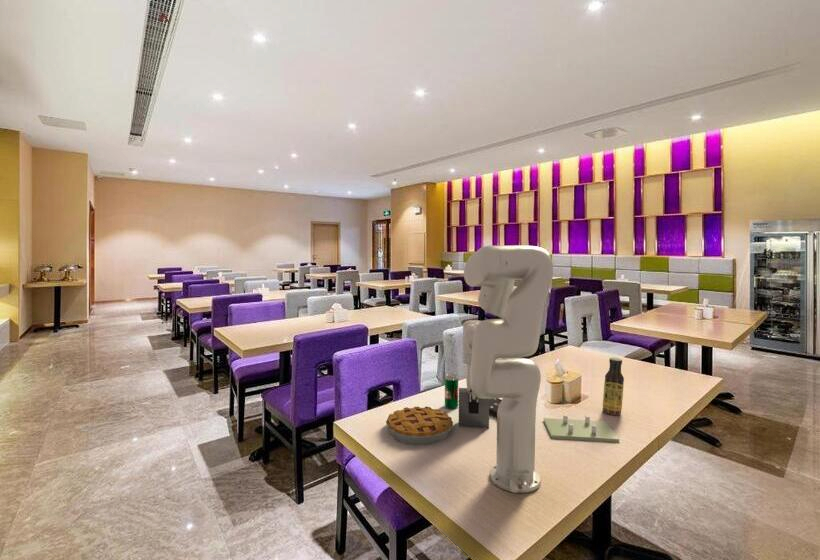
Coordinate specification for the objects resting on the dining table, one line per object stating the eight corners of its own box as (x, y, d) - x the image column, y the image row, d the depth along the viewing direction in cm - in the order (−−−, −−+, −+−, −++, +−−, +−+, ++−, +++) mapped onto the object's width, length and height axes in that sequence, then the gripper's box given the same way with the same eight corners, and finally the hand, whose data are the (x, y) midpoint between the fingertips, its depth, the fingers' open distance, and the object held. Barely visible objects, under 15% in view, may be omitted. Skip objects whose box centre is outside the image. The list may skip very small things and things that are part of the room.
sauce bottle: (602, 414, 144) (603, 359, 143) (602, 408, 150) (604, 355, 148) (622, 417, 141) (624, 362, 140) (622, 411, 147) (624, 357, 145)
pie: (435, 413, 146) (435, 400, 146) (465, 440, 126) (465, 424, 125) (377, 423, 138) (377, 409, 138) (399, 453, 118) (399, 436, 117)
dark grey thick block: (489, 428, 133) (489, 393, 132) (458, 426, 135) (458, 392, 134) (488, 423, 137) (488, 389, 136) (458, 421, 138) (458, 387, 138)
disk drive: (475, 409, 150) (506, 423, 138) (475, 402, 150) (506, 415, 138) (494, 403, 156) (525, 415, 144) (494, 396, 156) (525, 408, 144)
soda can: (442, 405, 153) (442, 374, 152) (454, 403, 155) (454, 372, 154) (448, 410, 148) (448, 378, 148) (460, 408, 150) (460, 376, 149)
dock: (619, 442, 123) (619, 431, 123) (551, 438, 126) (551, 427, 126) (604, 424, 136) (605, 414, 136) (543, 420, 139) (543, 411, 139)
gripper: (486, 366, 125) (485, 418, 127) (484, 351, 142) (483, 397, 144) (462, 365, 126) (461, 417, 128) (462, 350, 143) (462, 396, 145)
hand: (473, 407), depth 136 cm, fingers open, 9 cm apart
